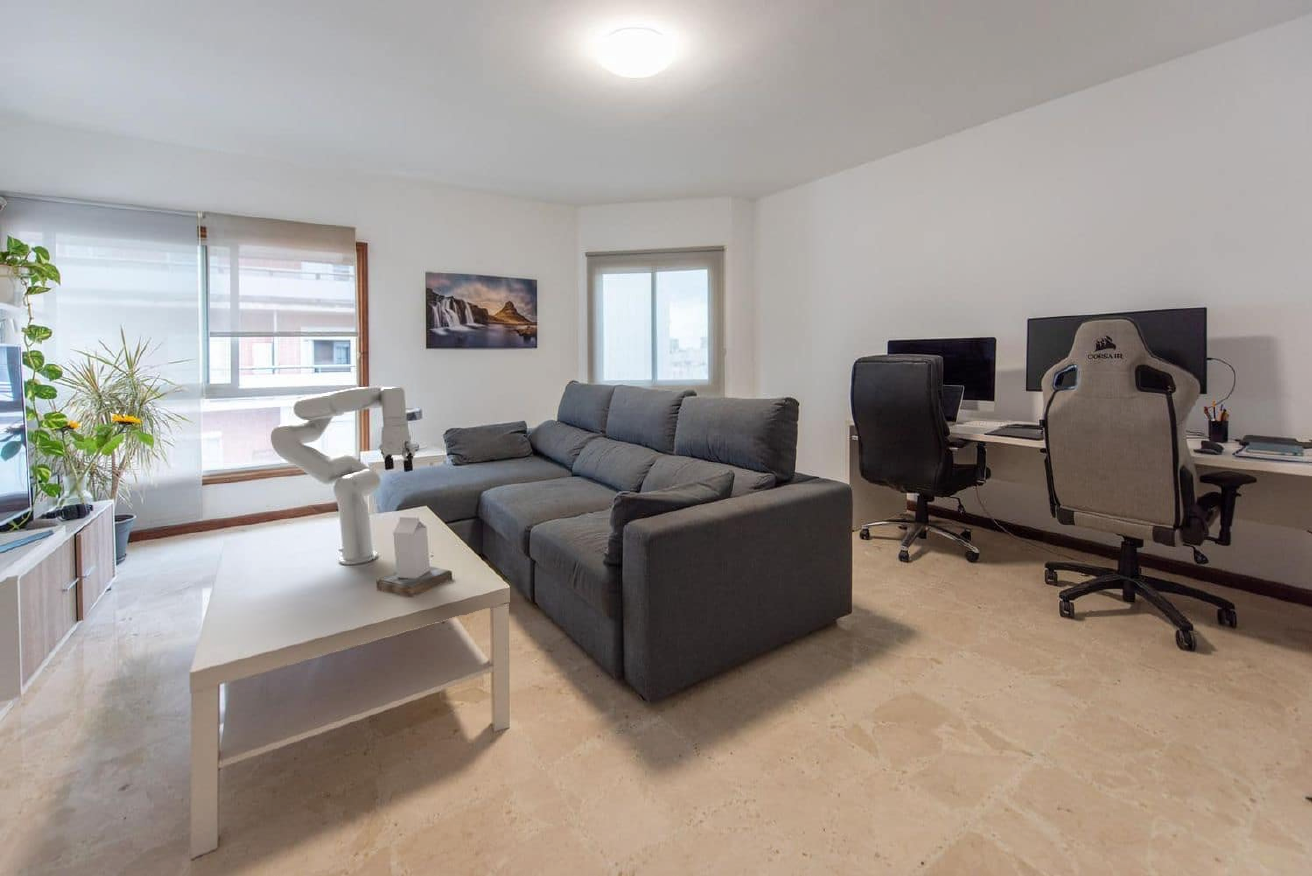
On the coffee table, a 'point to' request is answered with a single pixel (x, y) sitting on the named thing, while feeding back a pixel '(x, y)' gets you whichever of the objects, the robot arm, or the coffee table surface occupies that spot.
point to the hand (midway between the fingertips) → (399, 470)
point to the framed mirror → (414, 582)
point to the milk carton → (411, 548)
